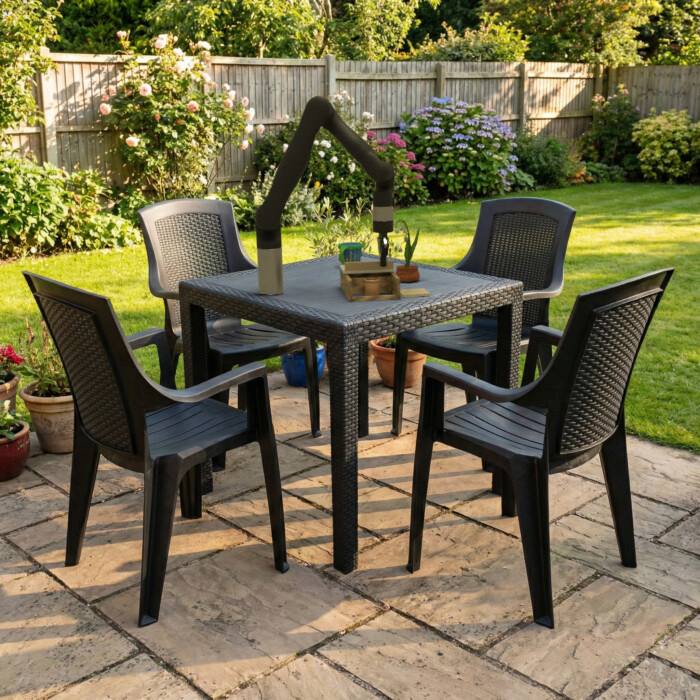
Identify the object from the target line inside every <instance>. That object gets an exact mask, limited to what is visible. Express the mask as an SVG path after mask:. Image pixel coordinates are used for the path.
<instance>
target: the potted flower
mask: <svg viewBox="0 0 700 700" xmlns="http://www.w3.org/2000/svg"><path fill="white" fill-rule="evenodd" d="M400 222H401V223H400ZM394 223H395V224H394ZM398 223H400V226H399V228H395V230H394V233H395V235H397V234H399V233H401V231H402V234H405V235H404V238H403V242H402V243H400V246H399V248H398V253H403V252H404V253H403V257H404V259H405V260H404V261H405V264H401V265H397V266H396V267H395V272H394V273H395V274H396V275H397V276H398V277H399V278H400V283H414V282H417V281H419V279H420V278H421V274H420V272H419V266H418V265H415V264H411V261H412V258H413V256H414V255H413V254H414V252H415V251H416V250H415V249H416V247H417V244H418V239H419V237H420V230H421V228H420V227H419V228H418V229H417V230H416V234H415V238H414V239H413V242H412V244H411V236H410V230H409V227H408V224H407V222H406V221H405V220H404V219H403V217H399V219H398V220H396V222H395V221H393V227H397V225H398ZM403 243H405V247H404V251H403V248H402V245H403Z"/></svg>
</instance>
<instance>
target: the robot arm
mask: <svg viewBox="0 0 700 700" xmlns="http://www.w3.org/2000/svg"><path fill="white" fill-rule="evenodd" d="M321 128H323V129H325V130H326V131H327V132H328V133H330V134H331V135H332V136H333V137H334V138H335V139H336V140H337V141H338V142H339V143H340V145H342V147H343V148H344V150H346V152H347V153H348V154H349V155H350V156H351V157H352V158H353V159H354V160H355V161H356V162H357V163H358V164H360V166H361V167H362V169H363V171H365V173H366V174H367V176H368V177H369V178H370V179H371V180H373V181H374V182H375V188H374V191H373V193H372V212H371V213H372V219H371V220H372V232H373V233H375V234H378V236H377V237H376V242H377V249H378V252H377V253H378V255H379V261H380V266H381V267H386V266H387V261H388V259H387V257H388V255H389V250H390V237H389V236H388V234H389V233H393V232H394V226H393V224H394V223H393V222H394V209H393V208H394V207H393V191H394V190H393V189H394V185H395V168H394V166H393V165H392V164H391V163H390V162H388V161H382V160H381V159H380V158H379V157H378V156H377V155H376V151H375V149H374V148H373V147H371V146H370V144H369V143H367V141H365V140H364V138H363V137H361V136H360V135H359V133H356V131H354V130H353V129H352V128H351V127H350V126H349V125H348V124H347V123H346V122H345V121H344V120H343V118H342V117H341V116H340V115H339V113H338V112H337V110H336V109H335V108H334V105H333V104H332V103H331V101H330V100H328V99H327V98H326V97H324V96H321V95H317V96H313V97H311V98H310V99H309V100H308V101H307V102H306V104H305V107H304V109H303V112H302V115H301V118H300V120H299V123H298V126H297V128H296V131H294V134H293V135H292V138H291V139H290V142H289V144H288V146H287V147H286V149H285V152H284V153H283V155H282V157H281V159H280V161H279V164H278V166H277V168H276V170H275V174H274V177H273V180H272V183H271V187H270V190H269V191H268V193H267V196H266V197H265V198H264V200H263V202H262V203H261V205H259V206H258V207H257V209H256V210H255V215H254V217H255V218H254V220H255V237H256V242H255V243H256V257H257V280H258V283H257V284H258V294H259V293H260V294H279V295H282V294H281V293H283V292H285V290H284V289H285V287H284V272H283V271H284V268H283V244H282V240H283V239H282V224H281V223H282V222H281V221H282V220H281V219H282V217H283V213H284V211H285V208H286V206H287V203H288V201H289V199H290V196H291V195H292V194H293V192H294V191H295V189H296V187H297V185H298V183H299V182H300V180H301V179H302V177H303V174H304V173H305V170H306V169H307V167H308V165H309V162H310V159H311V155H312V151H313V146H314V142H315V139H316V137H317V135H318V133H319V131H320V130H321ZM283 294H284V293H283Z"/></svg>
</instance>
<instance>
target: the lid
mask: <svg viewBox="0 0 700 700" xmlns="http://www.w3.org/2000/svg"><path fill="white" fill-rule="evenodd" d="M394 262H395V261H394V260H393V259H391V260H388V259H387V266H386V267H381V266H380V260H371V261H370V260H367V261H365V260H364V261H360V262H345V265H342V264H339V269H341V271H342V272H343V274H354V273H377V272H394V273H396V267H395V263H394Z"/></svg>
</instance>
